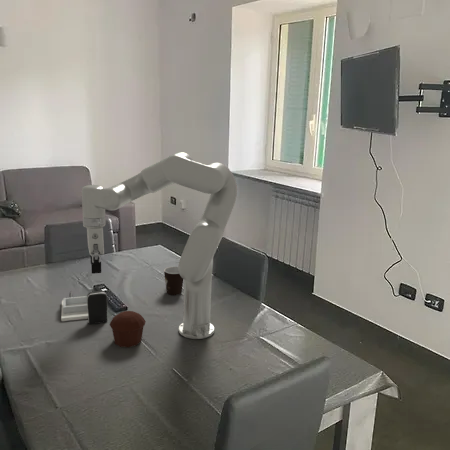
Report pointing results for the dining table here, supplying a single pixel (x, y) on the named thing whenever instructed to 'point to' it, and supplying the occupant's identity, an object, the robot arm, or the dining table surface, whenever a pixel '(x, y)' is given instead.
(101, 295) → the battery charger
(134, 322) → the muffin
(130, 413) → the dining table surface
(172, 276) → the coffee mug
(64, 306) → the dock
